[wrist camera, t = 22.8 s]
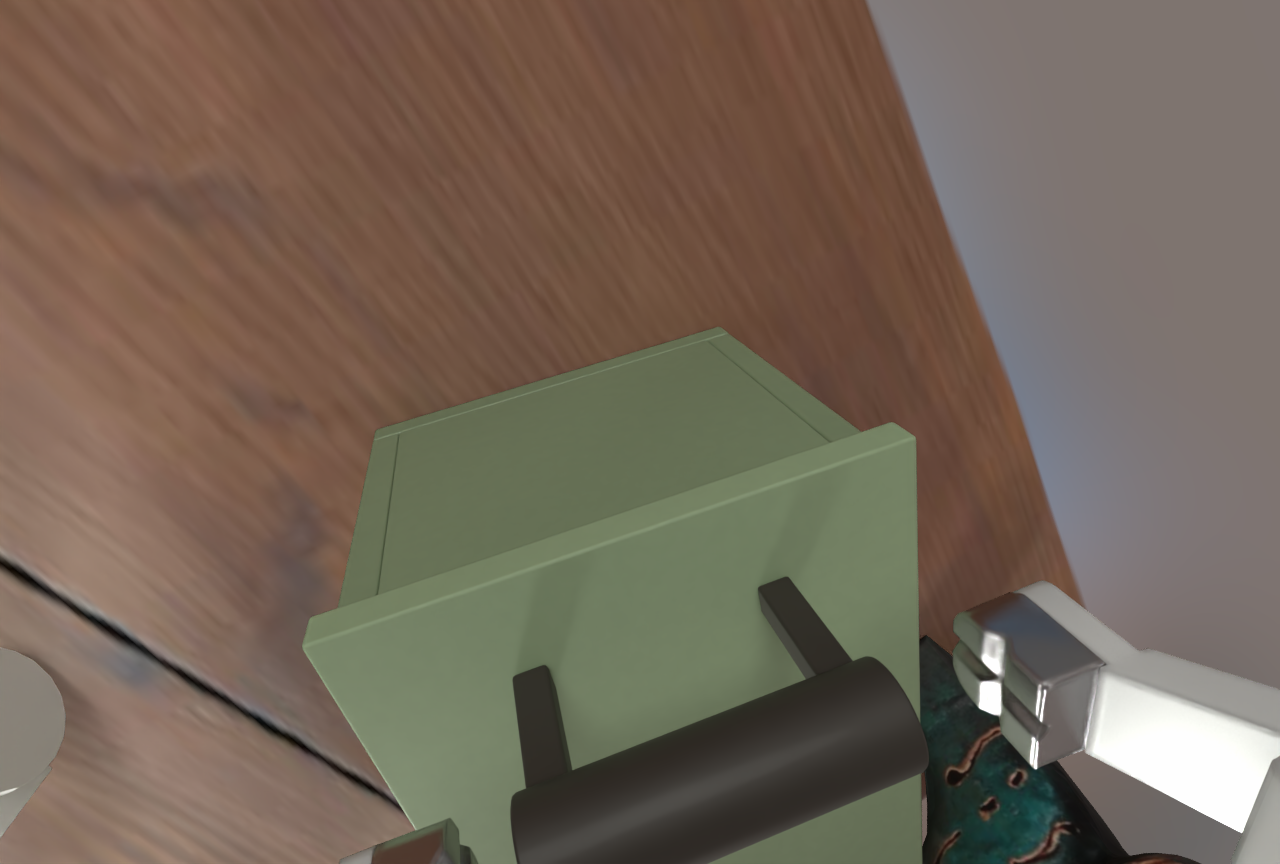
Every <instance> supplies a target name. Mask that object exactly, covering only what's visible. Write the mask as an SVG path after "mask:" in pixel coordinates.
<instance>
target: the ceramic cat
mask: <svg viewBox="0 0 1280 864" xmlns="http://www.w3.org/2000/svg"><path fill="white" fill-rule="evenodd" d="M919 667H920V724H921V727H922V729H923V732H924V735H925V739H926V742H927V747H928V752H929V764H928V767H927V769H926V770H925V771H924V773H925V781H926V794H927V836H926V838H925V841H924V844H923V846H922V864H1200V863H1198V862H1196V861H1193V860H1191V859H1188V858H1185V857H1182V856H1178V855H1172V854H1162V853H1144V854H1139V855H1132V856H1130V855H1128V854H1127V853H1126V851H1125V850H1124V849H1123V848H1122V846H1121V845H1120V843H1119V842H1118V840H1117V839H1116V837H1115V836H1114V834H1113V833H1112V832H1111V830H1110V829H1109V828H1108V826H1107V825H1106V823H1105V822H1104V821H1103V819H1102V818H1101V817H1100V815H1099V814H1098V813H1097V811H1096V810H1095V809H1094V807H1093V806H1092V805H1091V804H1090V802H1089V801H1088V800H1087V798H1086V797H1085V796H1084V795H1083V793H1082V792H1081V791H1080V789H1079V788H1078V787H1077V786H1076V784H1075V783H1074V782H1073V781H1072V779H1071V778H1070V777H1069V775H1068V774H1067V773H1066V771H1065V770H1064V769H1063V768H1062V766H1061V765H1060V764H1059V762H1058V761H1057V760H1056V761H1054V762H1051V763H1049V764H1046V765H1044V766H1041V767H1039V768H1036V769H1034V768H1033V767H1032V766H1031V765H1030V764H1029V763H1028V762H1027V761H1026V760H1025V759H1024V757H1023V756H1022V755H1021V754H1020V753H1019V752H1018V751H1017V750H1016V749H1015V747H1014V746H1013V745H1012V744H1011V743H1010V742H1009V741H1008V740H1007V739H1006V738H1005V736H1004V735H1003V734H1002V733H1001V730H1000V721H999V716H996V715H994V714H991V713H989V712H987V711H984V710H982V709H980V708H979V707H978V706H977V705H976V704H975V703H974V702H973V700H972V699H971V698H970V697H969V696H968V694H967V693H966V691H965V690H964V688H963V687H962V685H961V684H960V682H959V679H958V677H957V674H956V672H955V669H954V667H953V657H952V656H951V655H950V654H949V653H948V652H946V651H945V650H944V649H943V648H941V647H940V646H939V645H938V644H937V643H935V642H934V641H933V640H932V639H930V638H929V637H928V636H927V635H926V636H925V637H924V638H922V639H921V640H920V641H919Z"/></svg>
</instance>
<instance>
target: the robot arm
mask: <svg viewBox="0 0 1280 864" xmlns="http://www.w3.org/2000/svg"><path fill="white" fill-rule="evenodd" d="M953 632H954V633H955V634H956V635H957V636H958V637H959V638H960V640H959V642H958V644H957V645H956V647H955V648H954V650H953V667H954V669H955V672H956V674H957V677H958V679H959V682H960V684H961V685H962V687H963V688H964V690H965V691H966V693H967V694H968V696H969V697H970V698H971V699H972V700H973V702H974V703H975V704H976V705H977V706H978V707H979V708H980V709H982V710H984V711H987V712H989V713H991V714H994V715H996V716H999V721H1000V730H1001V733H1002V734H1003V735H1004V736H1005V738H1006V739H1007V740H1008V741H1009V742H1010V743H1011V744H1012V745H1013V746H1014V747H1015V749H1016V750H1017V751H1018V752H1019V753H1020V754H1021V755H1022V756H1023V757H1024V759H1025V760H1026V761H1027V762H1028V763H1029V764H1030V765H1031V766H1032V767H1033V768H1034V769H1036V768H1039V767H1041V766H1044V765H1046V764H1049V763H1051V762H1054V761H1056V760H1058V759H1061V758H1064V757H1066V756H1068V755H1071V754H1073V753H1076V752H1078V751H1081V750H1083V749H1085V753H1087V754H1089V755H1091V756H1093V757H1095V758H1097V759H1099V760H1101V761H1103V762H1105V763H1107V764H1109V765H1110V766H1112V767H1114V768H1116V769H1118V770H1120V771H1122V772H1124V773H1126V774H1128V775H1130V776H1132V777H1134V778H1136V779H1138V780H1140V781H1142V782H1144V783H1146V784H1148V785H1149V786H1151V787H1153V788H1155V789H1157V790H1159V791H1161V792H1163V793H1165V794H1167V795H1169V796H1171V797H1173V798H1175V799H1177V800H1179V801H1180V802H1183V803H1184V804H1186V805H1188V806H1190V807H1192V808H1194V809H1196V810H1198V811H1200V812H1202V813H1204V814H1206V815H1208V816H1210V817H1212V818H1214V819H1216V820H1218V821H1219V822H1222V823H1223V824H1225V825H1227V826H1229V827H1231V828H1233V829H1235V830H1237V831H1239V832H1241V833H1242V834H1241V837H1240V839H1239V841H1238V844H1237V846H1236V849H1235V852H1234V854H1233V856H1232V858H1231V864H1280V689H1277V688H1274V687H1271V686H1267V685H1265V684H1261V683H1258V682H1255V681H1252V680H1249V679H1245V678H1242V677H1239V676H1236V675H1232V674H1229V673H1226V672H1223V671H1220V670H1217V669H1214V668H1210V667H1207V666H1204V665H1201V664H1198V663H1194V662H1191V661H1188V660H1185V659H1182V658H1178V657H1175V656H1172V655H1169V654H1166V653H1163V652H1159V651H1156V650H1153V649H1150V648H1146V649H1143V650H1141V651H1138V650H1137V649H1136V648H1134V647H1133V646H1132V645H1131V644H1129V643H1128V642H1127V641H1126V640H1124V639H1123V638H1122V637H1120V636H1119V635H1118V634H1117V633H1115V632H1114V631H1112V630H1111V629H1110V628H1109V627H1107V626H1106V625H1105V624H1103V623H1102V622H1101V621H1100V620H1098V619H1097V618H1096V617H1095V616H1093V615H1092V614H1090V613H1089V612H1088V611H1087V610H1085V609H1084V608H1083V607H1082V606H1080V605H1079V604H1078V603H1076V602H1075V601H1074V600H1073V599H1071V598H1070V597H1069V596H1067V595H1066V594H1065V593H1064V592H1062V591H1061V590H1060V589H1058V588H1057V587H1056V586H1054V585H1053V584H1052V583H1049V582H1046V581H1043V580H1042V581H1039V582H1035V583H1033V584H1031V585H1028V586H1026V587H1024V588H1021V589H1019V590H1017V591H1014V592H1009V593H1006V594H1004V595H1002V596H999V597H997V598H994V599H992V600H990V601H987V602H985V603H982V604H980V605H978V606H975V607H973V608H971V609H968V610H966V611H963V612H961V613H959V614H957V616H956V617H955V619H954V623H953ZM339 864H478V861H477V859H476V856H475V855H474V853H473V851H472V850H471V848H470V847H468V846H464V845H461V844H460V839H459V829H458V827H457V826H456V825H455V823H454V822H453V820H452V819H451V818H447V819H445V820H442V821H439V822H437V823H434V824H431V825H429V826H426V827H423V828H421V829H418V830H416V831H413V832H410V833H408V834H405V835H402V836H400V837H397V838H394V839H392V840H389V841H386V842H384V843H381V844H378V845H375V846H373V847H370V848H368V849H365V850H363V851H360V852H357V853H355V854H352V855H350V856H347V857H345V858H342V859H340V862H339Z"/></svg>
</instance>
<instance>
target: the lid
mask: <svg viewBox="0 0 1280 864" xmlns="http://www.w3.org/2000/svg"><path fill="white" fill-rule="evenodd" d="M302 648H303V650H304V652H305V653H306V655H307V657H308V658H309V660H310V661H311V663H312V665H313V666H314V668H315V669H316V671H317V673H318V674H319V676H320V677H321V679H322V681H323V682H324V684H325V686H326V687H327V689H328V690H329V692H330V694H331V695H332V697H333V698H334V700H335V702H336V703H337V705H338V706H339V708H340V710H341V711H342V713H343V714H344V716H345V718H346V719H347V721H348V722H349V724H350V726H351V727H352V729H353V730H354V732H355V734H356V735H357V737H358V739H359V740H360V742H361V743H362V745H363V747H364V748H365V750H366V751H367V753H368V755H369V756H370V758H371V759H372V761H373V763H374V764H375V766H376V767H377V769H378V771H379V772H380V774H381V775H382V777H383V779H384V780H385V782H386V784H387V785H388V787H389V788H390V790H391V792H392V793H393V795H394V796H395V798H396V800H397V801H398V803H399V804H400V806H401V808H402V809H403V811H404V812H405V814H406V816H407V817H408V819H409V820H410V822H411V824H412V825H413V827H414V828H415V830H418V829H421V828H423V827H426V826H429V825H431V824H434V823H437V822H439V821H442V820H445V819H447V818H451V819H452V820H453V822H454V823H455V825H456V826H457V827H458V829H459V839H460V844H461V845H464V846H468V847H470V848H471V850H472V851H473V853H474V855H475V856H476V859H477V861H478V864H922V800H921V773H923V772H924V771H925V770H926V769H927V767H928V764H929V752H928V747H927V742H926V739H925V735H924V732H923V729H922V727H921V724H920V667H919V600H918V533H917V467H916V438H915V436H913V435H912V434H910V433H909V432H907V431H906V430H904V429H903V428H901V427H900V426H898V425H897V424H895V423H893V422H890V423H887V424H884V425H881V426H878V427H875V428H872V429H869V430H866V431H863V432H860V433H857V434H854V435H851V436H848V437H845V438H842V439H839V440H837V441H834V442H831V443H828V444H825V445H822V446H819V447H816V448H813V449H810V450H807V451H804V452H801V453H798V454H795V455H792V456H789V457H786V458H783V459H780V460H777V461H774V462H771V463H768V464H765V465H762V466H759V467H756V468H753V469H750V470H747V471H744V472H741V473H738V474H735V475H732V476H729V477H726V478H723V479H720V480H717V481H715V482H712V483H709V484H706V485H703V486H700V487H697V488H694V489H691V490H688V491H685V492H682V493H679V494H676V495H673V496H670V497H667V498H664V499H661V500H658V501H655V502H652V503H649V504H646V505H643V506H640V507H637V508H634V509H631V510H628V511H625V512H622V513H619V514H616V515H613V516H610V517H607V518H604V519H601V520H598V521H595V522H593V523H590V524H587V525H584V526H581V527H578V528H575V529H572V530H569V531H566V532H563V533H560V534H557V535H554V536H551V537H548V538H545V539H542V540H539V541H536V542H533V543H530V544H527V545H524V546H521V547H518V548H515V549H512V550H509V551H506V552H503V553H500V554H497V555H494V556H491V557H488V558H485V559H482V560H479V561H476V562H474V563H471V564H468V565H465V566H462V567H459V568H456V569H453V570H450V571H447V572H444V573H441V574H438V575H435V576H432V577H429V578H426V579H423V580H420V581H417V582H414V583H411V584H408V585H405V586H402V587H399V588H396V589H393V590H390V591H387V592H384V593H381V594H378V595H375V596H372V597H369V598H366V599H363V600H360V601H357V602H354V603H352V604H349V605H346V606H343V607H340V608H337V609H334V610H331V611H328V612H325V613H322V614H319V615H316V616H313V617H311V618H310V619H309V622H308V626H307V629H306V633H305V637H304V640H303V644H302Z"/></svg>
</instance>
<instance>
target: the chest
mask: <svg viewBox="0 0 1280 864" xmlns="http://www.w3.org/2000/svg"><path fill="white" fill-rule="evenodd" d="M860 432H861V431H859V430H858V429H857V428H855V427H854V426H853V425H851V424H850V423H849V422H847V421H846V420H845V419H843V418H842V417H841V416H839V415H838V414H837V413H835V412H834V411H832V410H831V409H830V408H828V407H827V406H826V405H824V404H823V403H822V402H820V401H819V400H818V399H816V398H815V397H814V396H812V395H811V394H810V393H808V392H807V391H805V390H804V389H803V388H801V387H800V386H799V385H797V384H796V383H795V382H793V381H792V380H791V379H789V378H788V377H787V376H785V375H784V374H783V373H781V372H780V371H778V370H777V369H776V368H774V367H773V366H772V365H770V364H769V363H768V362H766V361H765V360H764V359H762V358H761V357H760V356H758V355H757V354H756V353H754V352H753V351H752V350H750V349H749V348H747V347H746V346H745V345H743V344H742V343H741V342H739V341H738V340H737V339H735V338H734V337H733V336H731V335H730V334H728V332H726V331H725V330H724V329H722V328H721V327H716V328H713V329H710V330H706V331H703V332H700V333H696V334H693V335H690V336H686V337H683V338H680V339H677V340H673V341H670V342H667V343H663V344H660V345H657V346H653V347H650V348H647V349H643V350H640V351H637V352H633V353H630V354H627V355H623V356H620V357H617V358H613V359H610V360H607V361H603V362H600V363H597V364H593V365H590V366H587V367H583V368H580V369H577V370H573V371H570V372H567V373H564V374H560V375H557V376H554V377H550V378H547V379H544V380H540V381H537V382H534V383H530V384H527V385H524V386H520V387H517V388H514V389H510V390H507V391H504V392H500V393H497V394H494V395H490V396H487V397H484V398H480V399H477V400H474V401H470V402H467V403H464V404H460V405H457V406H454V407H451V408H447V409H444V410H441V411H437V412H434V413H431V414H427V415H424V416H421V417H417V418H414V419H411V420H407V421H404V422H401V423H397V424H394V425H391V426H387V427H384V428H381V429H377V430H376V432H375V436H374V441H373V445H372V450H371V454H370V459H369V464H368V468H367V473H366V478H365V482H364V487H363V492H362V496H361V501H360V506H359V510H358V515H357V520H356V524H355V529H354V534H353V538H352V543H351V548H350V552H349V557H348V562H347V566H346V571H345V576H344V580H343V585H342V590H341V594H340V599H339V604H338V608H340V607H343V606H346V605H349V604H352V603H354V602H357V601H360V600H363V599H366V598H369V597H372V596H375V595H378V594H381V593H384V592H387V591H390V590H393V589H396V588H399V587H402V586H405V585H408V584H411V583H414V582H417V581H420V580H423V579H426V578H429V577H432V576H435V575H438V574H441V573H444V572H447V571H450V570H453V569H456V568H459V567H462V566H465V565H468V564H471V563H474V562H476V561H479V560H482V559H485V558H488V557H491V556H494V555H497V554H500V553H503V552H506V551H509V550H512V549H515V548H518V547H521V546H524V545H527V544H530V543H533V542H536V541H539V540H542V539H545V538H548V537H551V536H554V535H557V534H560V533H563V532H566V531H569V530H572V529H575V528H578V527H581V526H584V525H587V524H590V523H593V522H595V521H598V520H601V519H604V518H607V517H610V516H613V515H616V514H619V513H622V512H625V511H628V510H631V509H634V508H637V507H640V506H643V505H646V504H649V503H652V502H655V501H658V500H661V499H664V498H667V497H670V496H673V495H676V494H679V493H682V492H685V491H688V490H691V489H694V488H697V487H700V486H703V485H706V484H709V483H712V482H715V481H717V480H720V479H723V478H726V477H729V476H732V475H735V474H738V473H741V472H744V471H747V470H750V469H753V468H756V467H759V466H762V465H765V464H768V463H771V462H774V461H777V460H780V459H783V458H786V457H789V456H792V455H795V454H798V453H801V452H804V451H807V450H810V449H813V448H816V447H819V446H822V445H825V444H828V443H831V442H834V441H837V440H839V439H842V438H845V437H848V436H851V435H854V434H857V433H860Z"/></svg>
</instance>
